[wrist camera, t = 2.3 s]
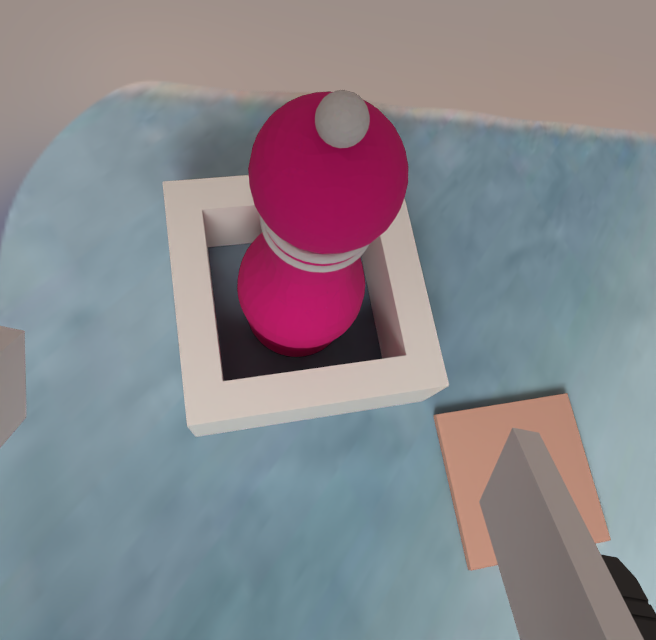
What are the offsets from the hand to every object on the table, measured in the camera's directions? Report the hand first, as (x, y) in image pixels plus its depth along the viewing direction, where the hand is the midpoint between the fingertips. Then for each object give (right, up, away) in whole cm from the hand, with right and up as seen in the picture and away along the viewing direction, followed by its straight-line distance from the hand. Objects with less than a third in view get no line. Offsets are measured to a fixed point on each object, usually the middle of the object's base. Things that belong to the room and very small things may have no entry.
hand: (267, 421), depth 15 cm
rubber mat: (+13, -7, +20) cm, 25 cm away
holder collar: (0, +3, +21) cm, 21 cm away
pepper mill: (0, +3, +21) cm, 21 cm away
